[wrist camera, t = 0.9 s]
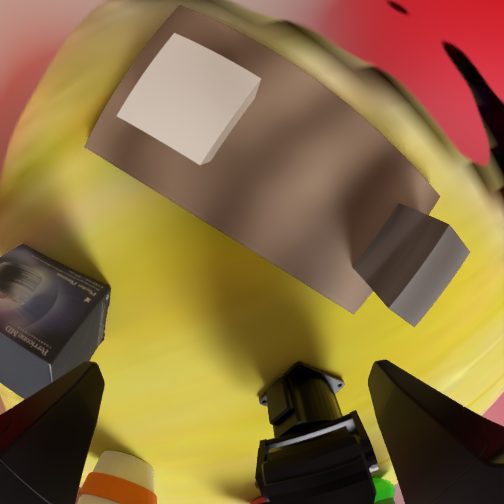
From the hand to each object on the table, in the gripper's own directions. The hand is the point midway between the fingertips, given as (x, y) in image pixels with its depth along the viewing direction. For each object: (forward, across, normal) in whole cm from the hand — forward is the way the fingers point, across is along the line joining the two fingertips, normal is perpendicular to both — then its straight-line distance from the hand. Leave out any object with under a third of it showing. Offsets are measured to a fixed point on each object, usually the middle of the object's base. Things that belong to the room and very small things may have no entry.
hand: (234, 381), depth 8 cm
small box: (+14, +16, +4) cm, 22 cm away
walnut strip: (+13, -3, -6) cm, 15 cm away
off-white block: (+12, +2, -10) cm, 15 cm away
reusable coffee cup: (+14, +18, +36) cm, 43 cm away
